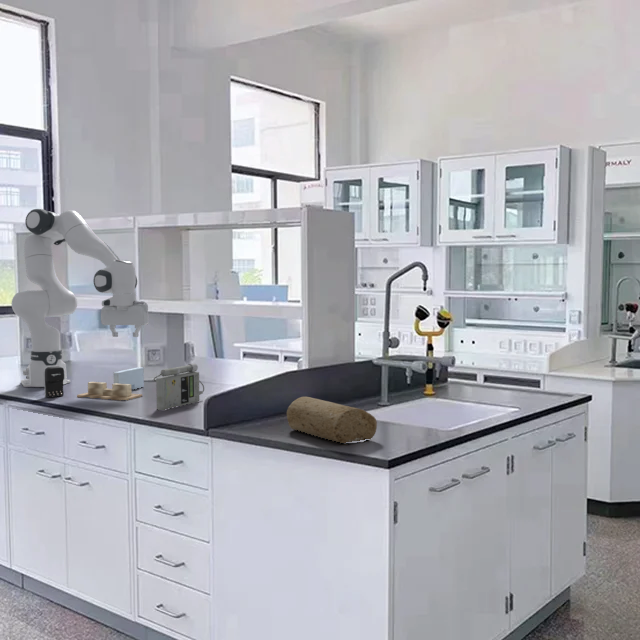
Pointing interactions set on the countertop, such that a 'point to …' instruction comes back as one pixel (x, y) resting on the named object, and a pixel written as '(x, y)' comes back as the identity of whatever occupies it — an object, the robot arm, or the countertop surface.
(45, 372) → the battery
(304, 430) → the core sample
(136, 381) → the blue plate
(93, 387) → the joint jig
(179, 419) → the countertop surface
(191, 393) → the geiger counter
